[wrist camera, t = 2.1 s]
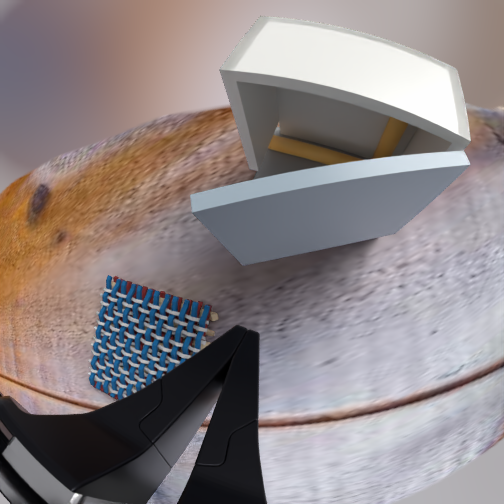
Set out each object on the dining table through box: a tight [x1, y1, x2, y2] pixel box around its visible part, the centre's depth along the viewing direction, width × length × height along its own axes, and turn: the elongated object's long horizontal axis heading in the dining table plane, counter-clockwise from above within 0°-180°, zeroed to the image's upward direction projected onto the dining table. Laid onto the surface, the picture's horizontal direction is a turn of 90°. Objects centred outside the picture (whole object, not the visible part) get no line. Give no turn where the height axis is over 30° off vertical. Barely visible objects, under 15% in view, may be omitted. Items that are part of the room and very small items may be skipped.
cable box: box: [220, 16, 471, 180], centre depth 15 cm, size 5×10×13 cm, turn 70°
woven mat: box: [88, 275, 219, 400], centre depth 19 cm, size 10×11×2 cm
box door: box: [190, 151, 470, 266], centre depth 12 cm, size 1×10×9 cm, turn 100°
